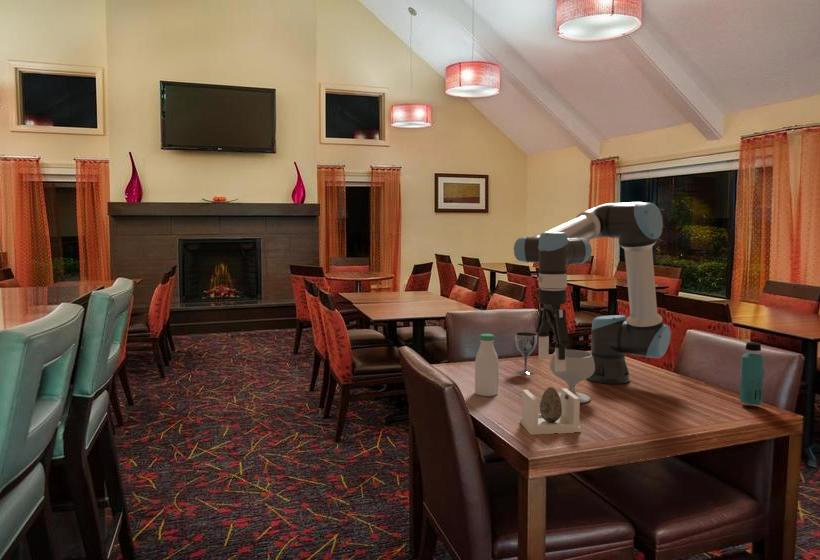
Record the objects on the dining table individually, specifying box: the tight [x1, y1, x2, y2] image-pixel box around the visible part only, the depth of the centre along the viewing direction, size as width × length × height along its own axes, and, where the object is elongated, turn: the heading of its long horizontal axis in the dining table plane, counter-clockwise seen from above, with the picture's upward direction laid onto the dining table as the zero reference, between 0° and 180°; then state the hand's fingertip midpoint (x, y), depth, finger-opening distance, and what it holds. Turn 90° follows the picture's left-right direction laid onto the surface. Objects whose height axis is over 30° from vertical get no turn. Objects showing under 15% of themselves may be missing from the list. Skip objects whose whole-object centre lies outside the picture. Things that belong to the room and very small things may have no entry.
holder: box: [519, 387, 582, 436], centre depth 166 cm, size 14×10×10 cm
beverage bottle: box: [738, 341, 765, 406], centre depth 183 cm, size 6×7×20 cm
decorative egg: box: [539, 386, 562, 423], centre depth 166 cm, size 6×6×10 cm
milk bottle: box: [474, 333, 499, 397], centre depth 198 cm, size 8×8×20 cm
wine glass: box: [514, 331, 538, 376], centre depth 225 cm, size 8×8×15 cm
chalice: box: [549, 349, 595, 404], centre depth 192 cm, size 14×14×15 cm
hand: (551, 364), depth 165 cm, fingers open, 13 cm apart
